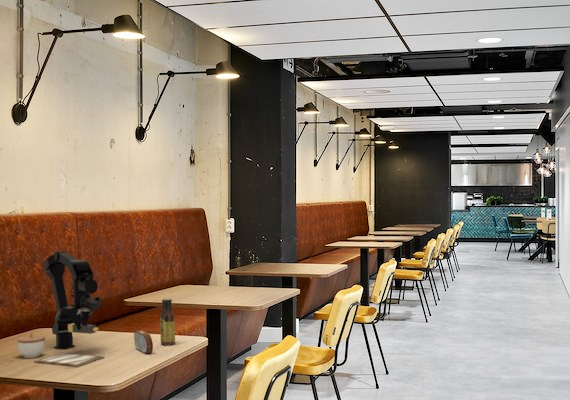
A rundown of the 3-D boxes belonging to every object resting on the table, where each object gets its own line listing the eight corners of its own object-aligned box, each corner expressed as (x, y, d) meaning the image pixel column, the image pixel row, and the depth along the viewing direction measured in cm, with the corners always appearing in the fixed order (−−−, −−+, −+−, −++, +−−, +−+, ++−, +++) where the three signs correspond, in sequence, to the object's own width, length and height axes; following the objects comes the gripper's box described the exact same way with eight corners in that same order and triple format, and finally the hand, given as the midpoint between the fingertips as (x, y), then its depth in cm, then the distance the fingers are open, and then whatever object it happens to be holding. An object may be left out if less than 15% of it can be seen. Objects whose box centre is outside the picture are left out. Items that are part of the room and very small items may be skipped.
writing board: (34, 362, 294) (34, 360, 294) (62, 353, 309) (62, 352, 309) (77, 367, 285) (77, 365, 285) (104, 357, 299) (104, 356, 299)
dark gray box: (68, 331, 309) (67, 324, 309) (73, 330, 312) (73, 323, 312) (94, 333, 303) (94, 326, 303) (99, 332, 306) (99, 325, 306)
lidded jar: (51, 354, 309) (50, 331, 309) (34, 360, 299) (33, 336, 299) (29, 352, 312) (28, 330, 312) (12, 358, 302) (11, 335, 302)
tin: (153, 354, 304) (153, 333, 304) (146, 355, 302) (145, 334, 302) (140, 348, 317) (139, 328, 316) (133, 349, 315) (132, 329, 315)
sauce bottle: (161, 343, 325) (160, 297, 325) (175, 342, 326) (174, 297, 325) (160, 346, 318) (158, 300, 318) (174, 345, 319) (173, 299, 319)
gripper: (80, 295, 296) (81, 334, 296) (110, 289, 312) (111, 326, 313) (58, 294, 300) (60, 332, 301) (89, 288, 317) (91, 324, 317)
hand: (81, 329), depth 308 cm, fingers closed on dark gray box, 3 cm apart
